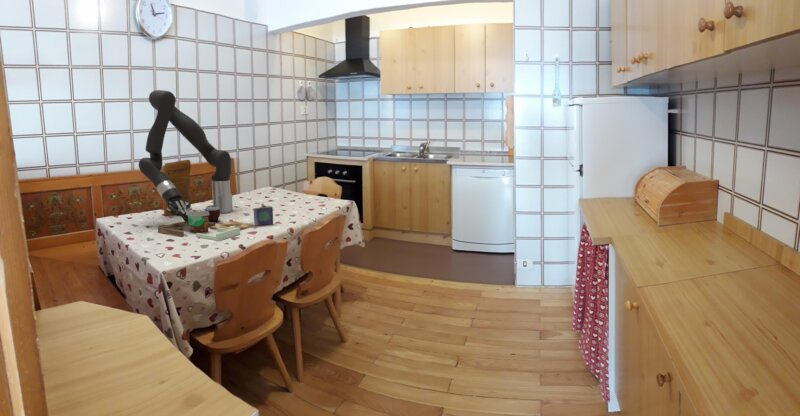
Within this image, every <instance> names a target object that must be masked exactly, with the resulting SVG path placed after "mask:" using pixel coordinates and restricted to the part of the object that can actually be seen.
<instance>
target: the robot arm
mask: <svg viewBox="0 0 800 416" xmlns="http://www.w3.org/2000/svg"><path fill="white" fill-rule="evenodd" d="M176 101H177V99H176V96H175V95H174V93H173V92H171V91H169V90H162V89H156V90H153V91H151V92H150V93H149V95H148V102H149V103H150V105H151V107H153V108H154V110H156V111H157V113H156V118H155V120H154V121H153V122H154V123H153V124H152V125H151V128H150V130H149V131H148V135H147V139H146V143H145V152H147V153H149V157H143V158H141V159H140V160H139V161H138V169H139V170H140V172H141V173H142V174H143V175H144V176H145V177H146V178H147V179H148V180H149V181H150V182H151V183H152V184H153V186H154V187H155V189H156V190H157V193H158V194H159V195H160V197H161V198H162V201H163V200H164V201H165V203H166V204H168V208H167V209H166V211H168V212H170V213H172V214H173V216H175V217H180V218H182V219H183V221H185V222H186V223H187V222H189V221H188V215H186V211H187V209H189V208H192V207H191V205H192V202H190V201H189V202H188V203H187V202H185V201H184V200H183V199H182V197H181V194H180V193H179V191H178V190H177V189H176V187H175V186H174V184H173V183H172V182H171V181H170V180H169V178H168V177H167V175H166V174H165V173H163V172H162V171H161V170H163V153H162V150H163V146H164V140H165V136H166V132H167V128H168V126H169V122H170V124H171V125H172V126H173V127H174V128H175V129H176V130H177V131H178V133H180V134H181V135H182V136H183V137H184V139H185V140H187V142H189V143H190V144H191V145H192V146H193V147H194V148H195V149H196V150H197V151H198V152H199V153H200V154H201V155H202V157H203V158H204V160H206V162H207V163H208V164H209V165H210V166H211V167H215V172H214V174H212V175H211V194H212V205H216V202H217V199H218V196H219V195H220V194H221V193H222V192H223V193H222V194H221V195H220V197H219V199H218V202H217V206H218V207H219V208H220V214H226V213H231V212H233V210H234V209H233V208H234V207H233V194H232V193H231V179H230V178H231V175H232V157H231V154H230V153H229V152H228V151H227V150H222V149H217V148H216V147H214V146H213V145H212V144H211V143H210V142H209V140H208V139H207V136H206V133H205V130H203V128H202V127H201V126H200V125H199V124H198V123H197V121H196V120H194V119H193V118H191V117H190V116H189V115H187V114H185V113H184V112H183V111H181V110H179V108H178V107H177V106H176V103H177V102H176ZM175 212H176V213H175Z"/></svg>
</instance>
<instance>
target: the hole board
mask: <svg viewBox="0 0 800 416" xmlns="http://www.w3.org/2000/svg"><path fill="white" fill-rule="evenodd" d="M218 227H219V228H225V229H230V230H231V229H235V228H240V231H243V230H246V229H249V228H252V227H255V226H254V223H247V222H243V221H242V222H241V221H235V220H230V221H227V222H223V223H217V224H216V226H211V227H210V228H209V229H210V230H215V231H217V228H218Z"/></svg>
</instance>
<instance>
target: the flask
mask: <svg viewBox="0 0 800 416" xmlns="http://www.w3.org/2000/svg"><path fill="white" fill-rule="evenodd" d="M264 203H265V202H264ZM264 203H261V206H258V207H254V208H253V224H254V226H253V227H263V226H272V225H274V213H273V209H274V208H273V206H271V205H265V204H264Z"/></svg>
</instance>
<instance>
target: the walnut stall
mask: <svg viewBox="0 0 800 416" xmlns="http://www.w3.org/2000/svg"><path fill="white" fill-rule="evenodd" d="M216 225H217V224H216V223H215V222H213V223H211V222H208V229H210V227H211V226H216ZM188 226H189V222H187V223H186V222H185V221H184V220H183V221H179V222H175V223H173V224H172V223H171V224H168V225H167V224H166V225H163V226H159V227H157V233H160V234H164V235H170V236H174V237H175V236H176V237H182V238H183V237H185V231H184V230H178V229H180V228H184V227H188Z"/></svg>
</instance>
